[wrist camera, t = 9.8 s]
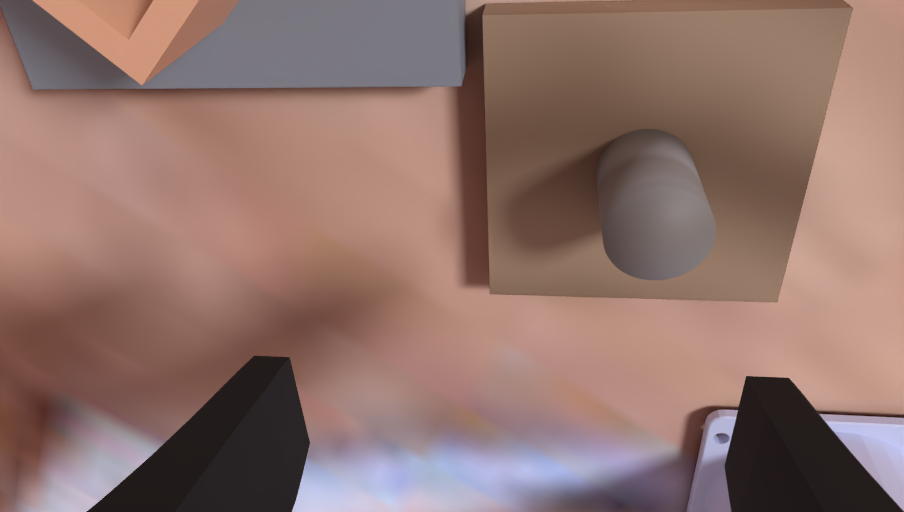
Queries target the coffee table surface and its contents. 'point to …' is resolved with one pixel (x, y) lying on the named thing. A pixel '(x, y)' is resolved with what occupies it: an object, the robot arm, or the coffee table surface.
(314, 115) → the coffee table surface
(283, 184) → the coffee table surface
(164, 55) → the collar
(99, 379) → the coffee table surface
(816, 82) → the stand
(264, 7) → the square peg base
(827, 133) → the coffee table surface
